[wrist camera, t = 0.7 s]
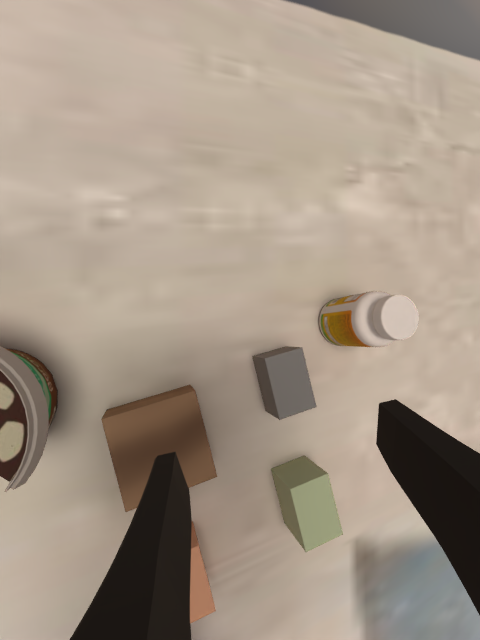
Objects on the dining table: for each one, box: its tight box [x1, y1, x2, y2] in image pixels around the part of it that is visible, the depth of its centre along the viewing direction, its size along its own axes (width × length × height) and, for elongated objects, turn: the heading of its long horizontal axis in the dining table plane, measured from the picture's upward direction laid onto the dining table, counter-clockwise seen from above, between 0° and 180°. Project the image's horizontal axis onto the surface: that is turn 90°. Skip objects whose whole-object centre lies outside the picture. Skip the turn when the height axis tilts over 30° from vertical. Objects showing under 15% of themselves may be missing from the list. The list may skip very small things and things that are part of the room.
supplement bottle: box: [319, 291, 419, 347], centre depth 33 cm, size 5×5×10 cm
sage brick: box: [271, 456, 343, 552], centre depth 33 cm, size 6×4×5 cm, turn 14°
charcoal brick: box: [252, 347, 316, 420], centre depth 34 cm, size 6×4×4 cm, turn 14°
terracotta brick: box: [190, 521, 216, 624], centre depth 30 cm, size 6×4×4 cm, turn 15°
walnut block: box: [102, 385, 217, 512], centre depth 30 cm, size 8×8×4 cm
